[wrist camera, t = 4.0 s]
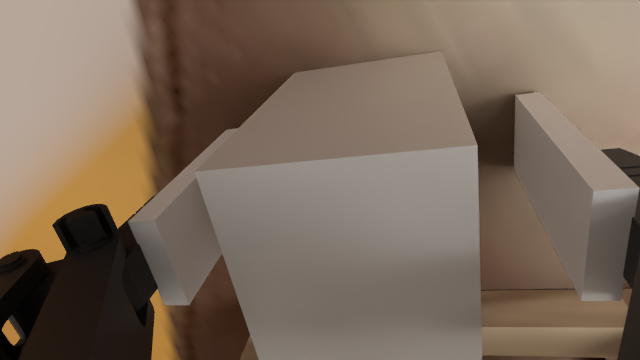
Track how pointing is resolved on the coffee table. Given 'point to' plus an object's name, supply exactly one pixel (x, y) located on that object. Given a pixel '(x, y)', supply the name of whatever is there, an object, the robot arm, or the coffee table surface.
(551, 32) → the coffee table surface
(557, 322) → the maple stand
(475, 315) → the light gray block
